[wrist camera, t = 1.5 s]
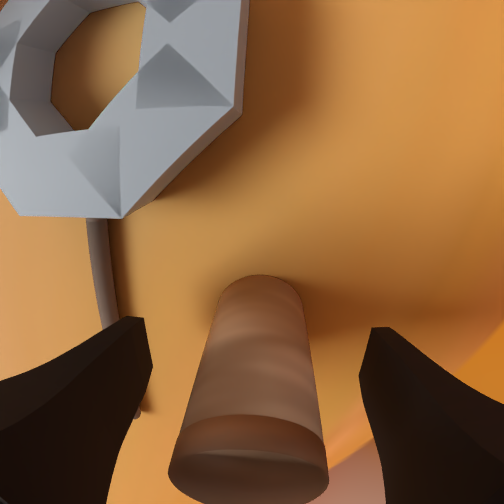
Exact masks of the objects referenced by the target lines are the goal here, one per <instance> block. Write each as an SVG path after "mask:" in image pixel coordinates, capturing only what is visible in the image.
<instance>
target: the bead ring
mask: <svg viewBox="0 0 504 504" xmlns="http://www.w3.org/2000/svg"><path fill="white" fill-rule="evenodd" d="M133 2H140V3H141V4H142V5H143V6H145V7H146V15H145V21H144V28H143V35H142V43H141V52H140V61H139V71H138V72H137V73H136V74H135V75H134V77H133V78H132V79H131V80H130V81H129V82H128V83H127V84H126V85H125V86H124V87H123V88H122V89H121V91H120V92H119V93H118V94H117V95H116V96H115V97H114V99H113V100H112V101H111V102H110V103H109V104H108V106H107V107H106V108H105V109H104V110H103V111H102V113H101V114H100V115H99V116H98V118H97V119H96V120H95V121H94V123H93V124H92V125H91V126H90V128H89V129H86V130H78V131H74V130H73V128H72V127H71V126H70V125H69V124H68V123H67V121H66V120H65V119H64V118H63V116H62V115H61V114H60V113H59V112H58V110H57V109H56V108H55V107H54V106H53V104H52V103H51V102H50V100H51V87H52V77H53V68H54V61H55V53H56V52H57V51H58V49H59V48H60V47H61V46H62V44H63V43H64V42H65V41H66V39H67V38H68V37H69V36H70V35H71V34H72V32H73V31H74V30H75V29H76V28H77V27H78V25H79V24H80V23H81V22H82V21H83V20H84V19H85V18H86V17H87V16H88V14H89V13H91V12H95V11H98V10H102V9H106V8H110V7H114V6H119V5H123V4H128V3H133ZM249 5H250V0H9V1H8V2H7V3H6V5H5V6H4V7H3V9H2V10H1V11H0V189H1V190H2V192H3V193H4V194H5V196H6V197H7V199H8V200H9V202H10V203H11V205H12V206H13V207H14V209H15V210H16V211H17V213H18V214H19V216H52V217H85V218H112V219H122V218H124V217H126V216H127V215H129V214H131V213H132V212H134V211H136V210H138V209H139V208H141V207H143V206H145V205H146V204H148V203H150V202H152V201H153V200H154V199H155V198H156V197H157V196H158V194H159V193H160V192H161V191H162V190H163V189H164V188H165V187H166V186H167V185H168V184H169V183H170V182H171V181H172V180H173V179H174V178H175V177H176V176H177V175H178V174H179V173H180V172H181V171H182V170H183V169H184V168H185V167H186V166H187V165H188V164H189V163H190V162H191V161H192V160H193V159H194V158H195V157H196V156H198V155H199V154H200V153H201V152H202V151H203V150H204V149H205V148H206V147H207V146H208V145H209V144H210V143H211V142H212V141H214V140H215V139H216V138H217V137H218V136H219V135H220V134H221V133H222V132H223V131H224V130H226V129H227V128H228V127H229V126H230V125H231V124H232V123H233V122H235V121H236V120H237V119H238V118H239V117H240V116H241V115H242V108H243V92H244V76H245V61H246V46H247V32H248V18H249Z"/></svg>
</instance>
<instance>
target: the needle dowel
mask: <svg viewBox="0 0 504 504" xmlns="http://www.w3.org/2000/svg"><path fill="white" fill-rule="evenodd" d="M168 475H169V478H170V480H171V482H172V483H173V485H174V486H175V487H176V488H177V489H178V490H180V491H181V492H182V493H184V494H185V495H187V496H189V497H191V498H193V499H195V500H197V501H199V502H202V503H204V504H306V503H308V502H310V501H312V500H314V499H315V498H317V497H318V496H320V495H321V494H322V493H323V492H324V491H325V490H326V489H327V486H328V484H329V476H328V467H327V458H326V450H325V446H324V442H323V434H322V427H321V419H320V412H319V405H318V398H317V391H316V384H315V378H314V371H313V365H312V359H311V352H310V346H309V340H308V334H307V328H306V322H305V316H304V311H303V305H302V302H301V299H300V297H299V295H298V294H297V292H296V291H295V290H294V289H293V288H292V287H291V286H290V285H289V284H287V283H286V282H284V281H282V280H281V279H278V278H276V277H272V276H267V275H252V276H247V277H244V278H241V279H239V280H237V281H235V282H233V283H232V284H231V285H229V286H228V287H227V288H226V289H225V291H224V292H223V293H222V295H221V297H220V299H219V302H218V305H217V308H216V312H215V315H214V318H213V321H212V325H211V328H210V331H209V335H208V338H207V341H206V345H205V348H204V351H203V355H202V358H201V361H200V365H199V368H198V371H197V375H196V378H195V382H194V385H193V388H192V392H191V395H190V399H189V402H188V406H187V409H186V413H185V416H184V420H183V423H182V427H181V430H180V434H179V436H178V438H177V441H176V444H175V448H174V451H173V455H172V458H171V462H170V465H169V469H168Z"/></svg>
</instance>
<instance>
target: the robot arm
mask: <svg viewBox="0 0 504 504" xmlns="http://www.w3.org/2000/svg"><path fill="white" fill-rule="evenodd" d="M152 368H153V364H152V359H151V354H150V349H149V344H148V339H147V333H146V328H145V322H144V318H141V317H132V316H126V317H124V318H122V319H120V320H118V321H117V322H115V323H113V324H112V325H110V326H108V327H107V328H105V329H104V330H102V331H101V332H99V333H97V334H96V335H94V336H92V337H91V338H89V339H88V340H86V341H84V342H83V343H81V344H80V345H78V346H76V347H74V348H73V349H71V350H69V351H67V352H66V353H64V354H62V355H60V356H58V357H57V358H55V359H53V360H51V361H49V362H47V363H45V364H43V365H41V366H39V367H36V368H34V369H32V370H29V371H27V372H25V373H22V374H19V375H16V376H13V377H10V378H7V379H5V380H2V381H0V504H106V502H107V496H108V492H109V487H110V483H111V479H112V475H113V471H114V468H115V464H116V460H117V457H118V454H119V451H120V448H121V445H122V443H123V440H124V438H125V436H126V434H127V431H128V429H129V427H130V425H131V423H132V420H133V418H134V416H135V414H136V412H137V410H138V407H139V405H140V403H141V401H142V398H143V396H144V394H145V392H146V388H147V385H148V382H149V379H150V375H151V372H152ZM359 381H360V388H361V394H362V399H363V403H364V407H365V410H366V413H367V417H368V420H369V423H370V426H371V430H372V433H373V436H374V440H375V443H376V446H377V450H378V453H379V457H380V461H381V466H382V472H383V479H384V487H385V497H386V504H504V404H502V403H500V402H498V401H495V400H493V399H491V398H489V397H487V396H485V395H483V394H482V393H480V392H478V391H477V390H475V389H473V388H471V387H470V386H468V385H466V384H465V383H463V382H462V381H460V380H458V379H457V378H456V377H454V376H453V375H451V374H450V373H449V372H447V371H446V370H444V369H443V368H442V367H440V366H439V365H438V364H436V363H435V362H434V361H432V360H431V359H430V358H428V357H427V356H426V355H425V354H423V353H422V352H421V351H420V350H418V349H417V348H416V347H415V346H413V345H412V344H411V343H410V342H408V341H407V340H406V339H405V338H403V337H402V336H401V335H400V334H398V333H397V332H395V331H394V330H393V329H391V328H390V327H375V328H372V329H371V333H370V336H369V340H368V344H367V348H366V351H365V355H364V359H363V362H362V366H361V369H360V372H359Z"/></svg>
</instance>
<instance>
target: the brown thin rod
mask: <svg viewBox="0 0 504 504" xmlns="http://www.w3.org/2000/svg"><path fill="white" fill-rule="evenodd" d="M86 224H87V235H88V244H89V252H90V260H91V267H92V274H93V280H94V286H95V292H96V298H97V303H98V309H99V314H100V319H101V323H102V328H103V330H104V329H105V328H107V327H108V326H110V325H112V324H113V323H115V322H117V321H118V320H120V319H119V313H118V307H117V301H116V294H115V288H114V280H113V273H112V264H111V256H110V246H109V235H108V222H107V218H86ZM140 414H141V411H140V407H138V410H137V412H136V414H135V416H134V418H133V419H137V418H139V417H140Z"/></svg>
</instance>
